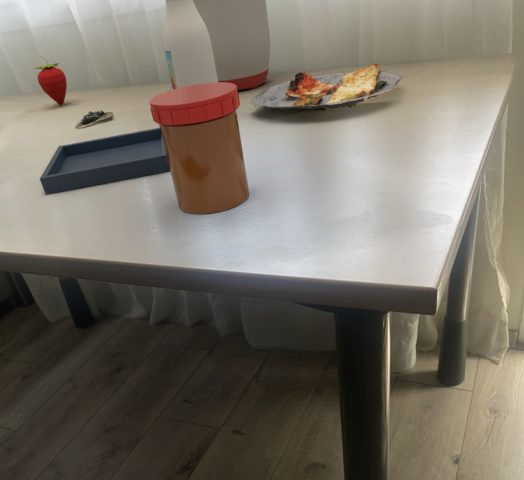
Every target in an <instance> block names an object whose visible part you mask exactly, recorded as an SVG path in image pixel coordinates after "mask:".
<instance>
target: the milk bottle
mask: <svg viewBox="0 0 524 480" xmlns="http://www.w3.org/2000/svg"><path fill="white" fill-rule="evenodd" d="M164 18H165V19H164V25H163V32H162V33H163V35H162V36H163V47H164V53H165V59H166V63H167V68H168V69H167V70H168V73H169V79H170V83H171V87H172V90H174V89H177V88H182V87H186V86H191V85H197V84H205V83H217V82H218V78H217V73H216V67H215V61H214V56H213V50H212V45H211V40H210V36H209V33H208V30H207V27H206V25H205V23H204V21H203V19H202V18H201V16H200V14H199V13H198V11H197V9H196V7H195V4H194V2H193V0H165V17H164Z"/></svg>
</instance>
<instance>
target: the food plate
mask: <svg viewBox="0 0 524 480" xmlns="http://www.w3.org/2000/svg"><path fill="white" fill-rule="evenodd" d="M294 77H295V78H294V79H290V80H289V81H286V82H285V81H284V82H281V83H280V84H277V85H273V86H269V87H267V88H265V89H264V90H261V91H260V92H259V93H257V94H256V95H255V96H253V97H252V98H250V104H251V106H253V107H255V108H257V107H260V108H261V107H267V108H268V109H269V110H275V109H278V110H281V111H283V112H290V113H291V112H292V113H310V112H320V111H321V112H325V111H327V110H337V109H341V108H343V109H346V108H350V109H352V108H353V107H356V106H357V105H358V104H359V103H364V101H365V99H366V98H367V100H370V99H371V98H372V99H373V98H376V97H378V96H379V95H380V94H384V93H387V92H389V91H390V92H391V91H392V90H393V89H394V88H395V87H396V86H397V85H398V84H399V83H400V81H401V80H402V79H403V77H404V76H402V74H399V73H397V72H391V71H386V70H381V67H380V65H379V64H378V63H373V64H370V65H368V66H365V67H362V68H360V69H357V70H351V71H337V72H326V73H322V74H316V75H310V74H308V73H306V71H303V72H298V73H295V75H294Z"/></svg>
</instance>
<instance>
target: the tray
mask: <svg viewBox="0 0 524 480" xmlns="http://www.w3.org/2000/svg"><path fill="white" fill-rule="evenodd" d="M167 172H170V167H169V163H168V159H167V155H166V151H165V147H164V143H163V139H162V134H161V130H160V127H154V128H150V129H145V130H139V131H133V132H129V133H123V134H117V135H111V136H107V137H101V138H95V139H90V140H86V141H79V142H74V143H68V144H64V145H63V144H62V145H59V146H58V147H57V149H56V150H55V152H54V153H53V154H52V157H51V158H50V160H49V161H48V164H47V165H46V166H45V169H44V171H43V172H42V174H41V176H40V177H39V181H40V185H41V186H42V189H43V192H44V194H45V195H50V194H57V193H61V192H66V191H71V190H76V189H82V188H88V187H94V186H97V185H98V186H99V185H103V184H109V183H115V182H119V181H120V182H121V181H124V180H129V179H130V180H131V179H135V178H141V177H146V176H151V175H156V174H162V173H167Z"/></svg>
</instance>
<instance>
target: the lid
mask: <svg viewBox="0 0 524 480" xmlns="http://www.w3.org/2000/svg"><path fill="white" fill-rule="evenodd" d="M148 102H149V106H150V113H151V118H152V122H154V123H156V124H158V125H159V124H162V125H183V124H192V123H198V122H203V121H208V120H212V119H215V118H219V117H222V116H225V115H227V114H229V113H231V112H233V111H235V110H236V111H237V110H238V109H239V107H240V106H241V101H240V95H239V92H238V90H237V86H236V85H235V84H232V83H225V82H217V83H205V84H197V85H191V86H186V87H182V88H177V89H174V90H173V89H171V90H170V89H169V90H167V91H164V92H162V93H159V94H157V95H154V96H153V97H152V98H150V99H149V101H148Z"/></svg>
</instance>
